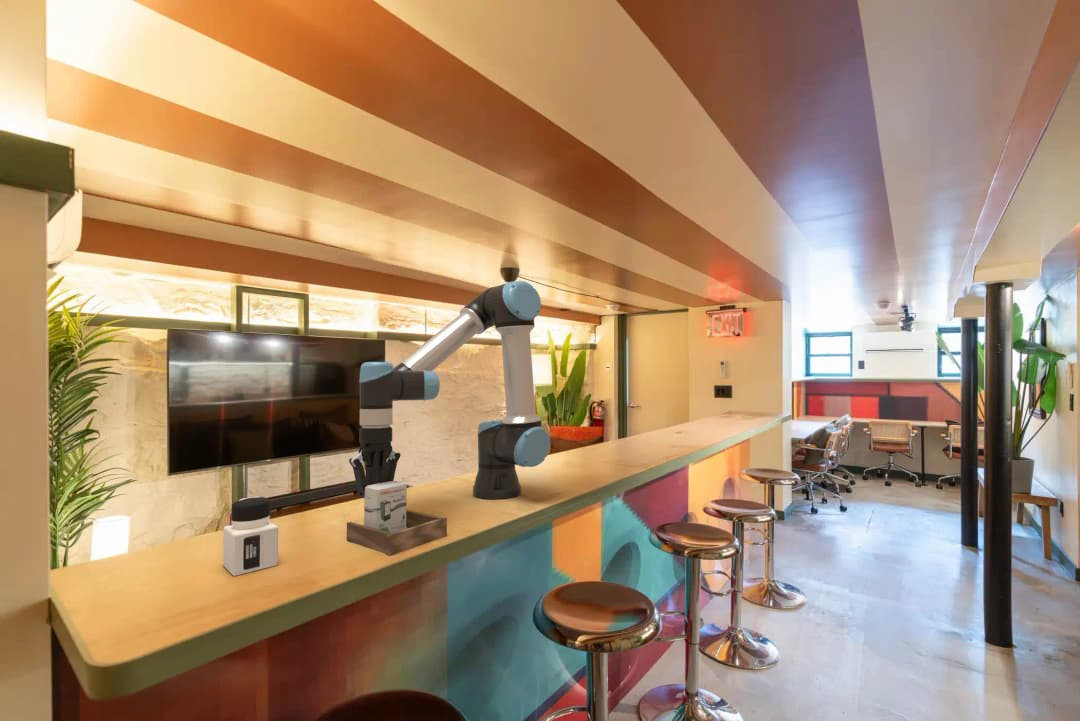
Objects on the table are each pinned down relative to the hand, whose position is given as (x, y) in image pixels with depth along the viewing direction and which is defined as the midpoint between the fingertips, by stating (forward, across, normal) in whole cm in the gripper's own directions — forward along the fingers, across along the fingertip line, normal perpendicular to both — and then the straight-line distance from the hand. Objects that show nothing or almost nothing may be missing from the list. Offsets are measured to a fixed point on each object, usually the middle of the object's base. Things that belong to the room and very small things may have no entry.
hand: (375, 525), depth 117 cm
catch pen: (+2, 0, +8) cm, 8 cm away
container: (+2, +27, -2) cm, 27 cm away
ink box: (+2, 0, +4) cm, 4 cm away
